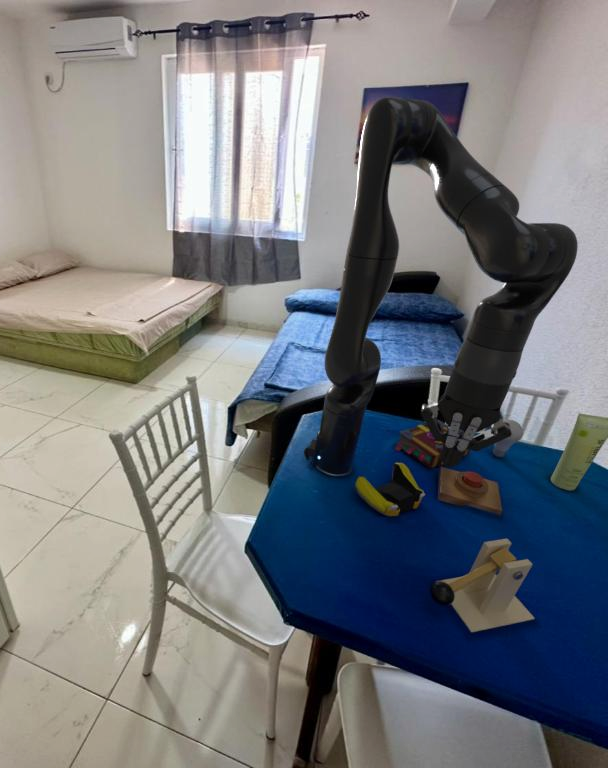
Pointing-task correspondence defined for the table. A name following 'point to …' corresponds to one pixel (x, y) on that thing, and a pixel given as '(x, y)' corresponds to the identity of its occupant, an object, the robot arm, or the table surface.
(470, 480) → the button
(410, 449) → the decorative book
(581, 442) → the tube
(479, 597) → the wooden lever stand
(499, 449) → the lightbulb
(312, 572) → the table surface
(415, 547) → the table surface
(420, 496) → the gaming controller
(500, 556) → the wooden lever handle
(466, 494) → the button block
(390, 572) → the table surface
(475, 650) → the table surface
